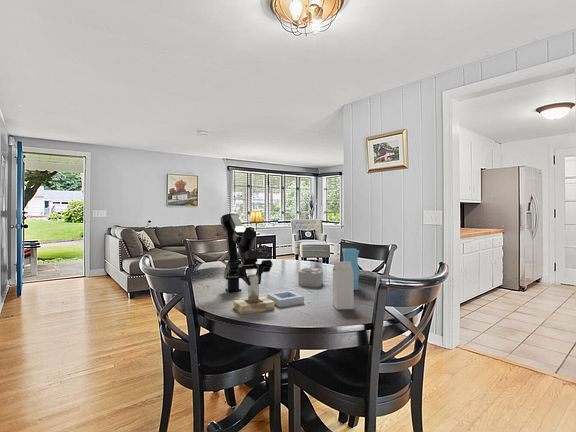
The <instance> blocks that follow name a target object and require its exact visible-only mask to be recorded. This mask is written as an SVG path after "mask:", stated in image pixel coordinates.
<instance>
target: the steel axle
mask: <svg viewBox="0 0 576 432" xmlns="http://www.w3.org/2000/svg"><path fill="white" fill-rule="evenodd" d="M247 276H248V279H249V283H250V285H249V286H248V285H247V299H248V300H249V301H257V300H259V297H260V284H259V275H256V273H255V274H254V273H253V274H247Z"/></svg>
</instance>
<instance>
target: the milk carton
mask: <svg viewBox="0 0 576 432" xmlns="http://www.w3.org/2000/svg"><path fill="white" fill-rule="evenodd" d="M354 291H355V290H354V273H353V269H352V265H351V262H343V261H334V263H333V268H332V305H333V307H334V308H335V309H336V310H339V311H340V310H354V309H355V308H354V306H355V305H354V302H355V301H354V300H355V299H354Z"/></svg>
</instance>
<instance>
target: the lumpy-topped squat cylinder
mask: <svg viewBox="0 0 576 432" xmlns="http://www.w3.org/2000/svg"><path fill="white" fill-rule="evenodd" d="M297 271H298V272H297V273H298V275H297V276H298V277H297V278H298V280H297V282H298V283H297V284H298V285H300V286H304V287H313V288H317V287H321V285H323V284H324V283H323V282H324V281H323V279H324V278H323V277H324V275H323V274H324V272H323V270H321V269H320V268H315V267H314V266H313V267H312V266H311V267H310V268H309V267H304V268H301V269H299V270H297Z"/></svg>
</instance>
